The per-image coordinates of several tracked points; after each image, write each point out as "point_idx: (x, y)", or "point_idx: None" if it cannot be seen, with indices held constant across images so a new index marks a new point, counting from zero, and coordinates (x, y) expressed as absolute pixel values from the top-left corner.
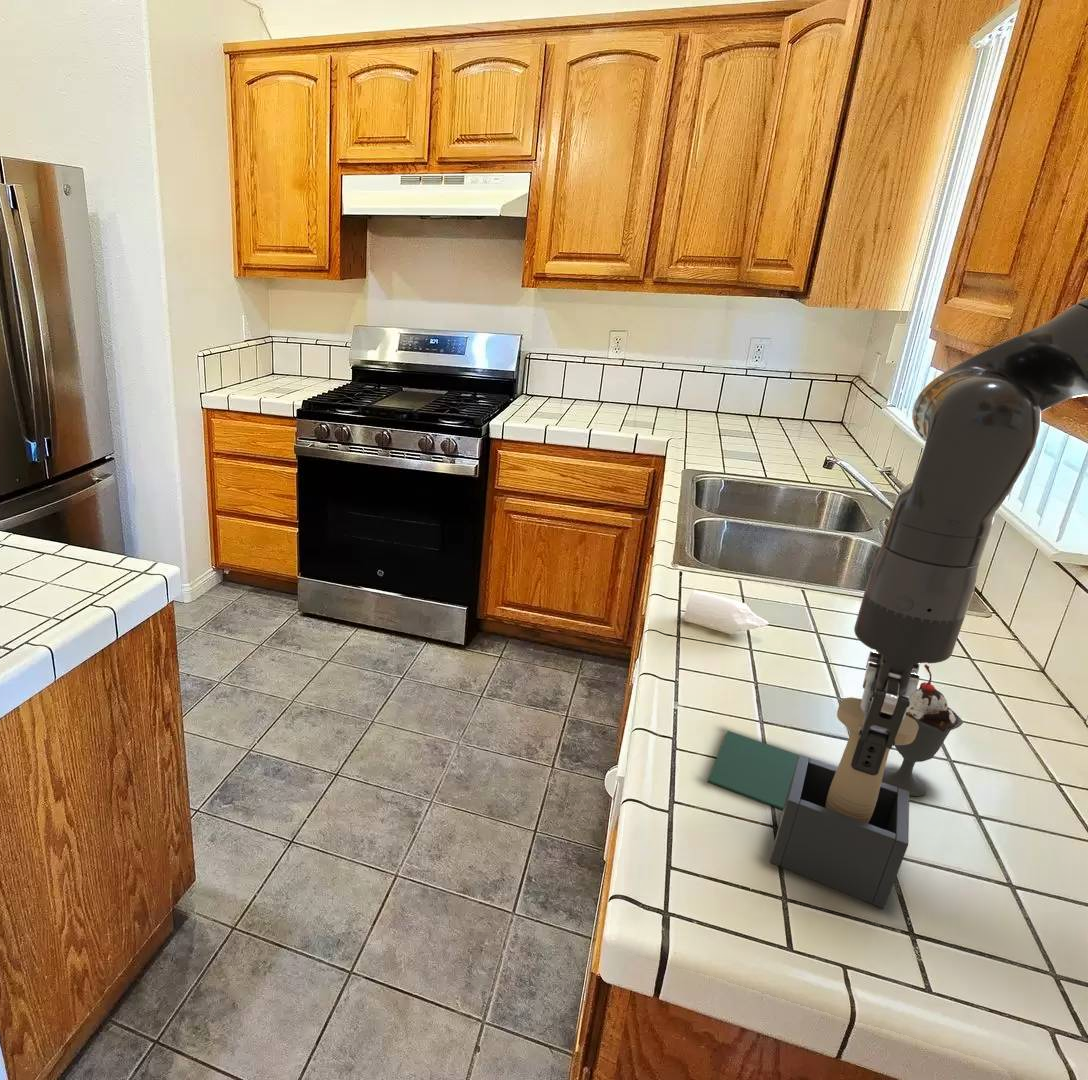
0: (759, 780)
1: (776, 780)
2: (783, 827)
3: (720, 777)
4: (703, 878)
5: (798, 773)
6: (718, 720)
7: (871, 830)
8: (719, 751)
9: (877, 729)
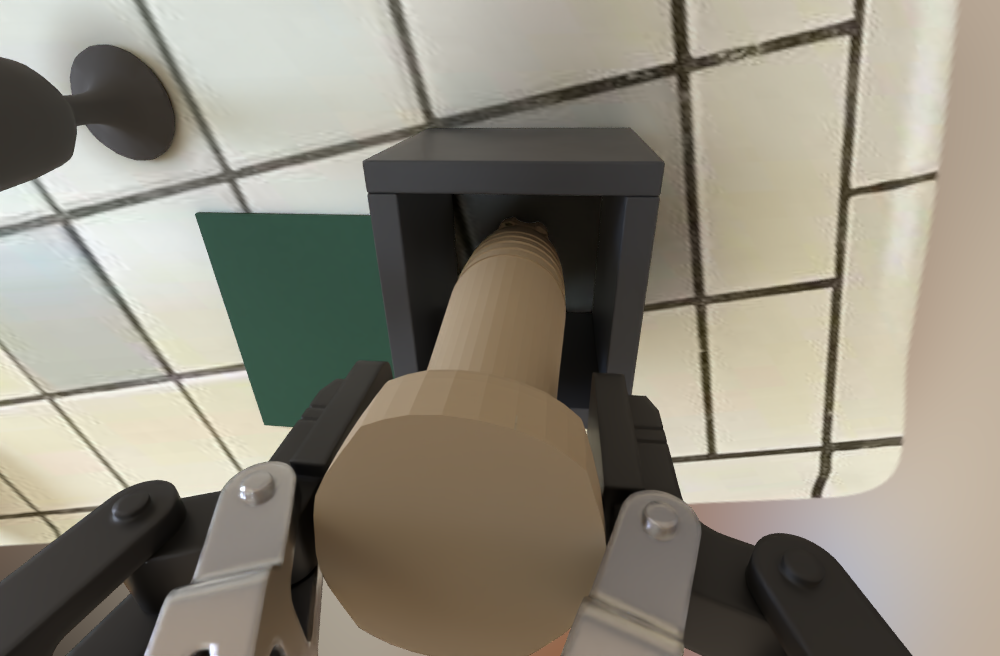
0: None
1: (352, 342)
2: None
3: None
4: (713, 413)
5: None
6: (241, 437)
7: (649, 258)
8: None
9: (706, 630)
